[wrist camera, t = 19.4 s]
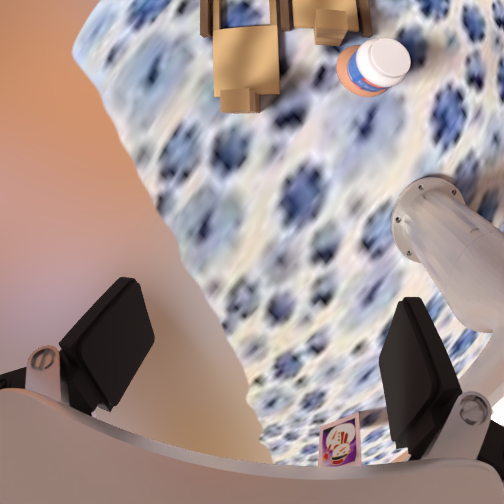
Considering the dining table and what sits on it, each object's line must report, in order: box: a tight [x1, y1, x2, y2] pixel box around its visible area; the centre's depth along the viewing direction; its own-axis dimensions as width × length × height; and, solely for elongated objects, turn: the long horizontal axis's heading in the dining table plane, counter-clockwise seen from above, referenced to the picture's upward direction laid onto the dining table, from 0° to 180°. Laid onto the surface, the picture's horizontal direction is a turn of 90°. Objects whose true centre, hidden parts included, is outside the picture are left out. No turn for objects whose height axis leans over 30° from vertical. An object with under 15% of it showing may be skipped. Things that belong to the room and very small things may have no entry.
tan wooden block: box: [292, 0, 359, 46], centre depth 21 cm, size 8×9×7 cm
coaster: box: [336, 45, 387, 97], centre depth 27 cm, size 7×7×1 cm
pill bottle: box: [346, 38, 411, 92], centre depth 22 cm, size 6×5×10 cm
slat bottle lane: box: [213, 0, 280, 114], centre depth 24 cm, size 8×20×7 cm, turn 2°
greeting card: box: [318, 412, 361, 467], centre depth 51 cm, size 11×7×15 cm, turn 137°
